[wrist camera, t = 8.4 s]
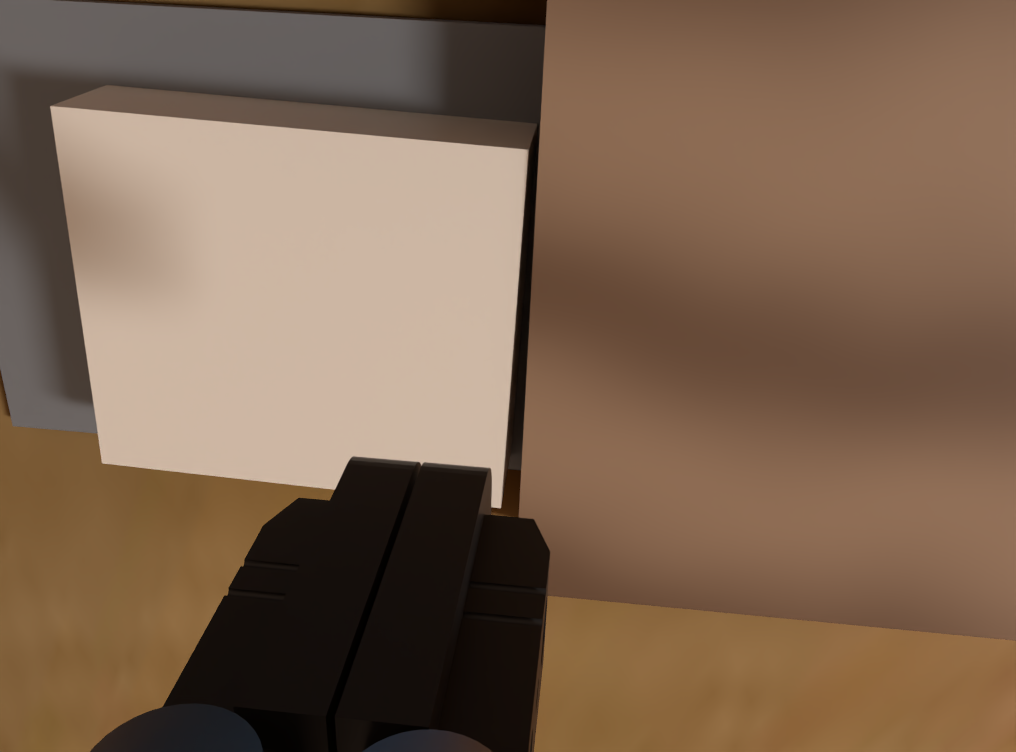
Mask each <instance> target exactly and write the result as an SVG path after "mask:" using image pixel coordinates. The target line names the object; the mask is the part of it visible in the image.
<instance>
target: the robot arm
mask: <svg viewBox="0 0 1016 752" xmlns="http://www.w3.org/2000/svg"><path fill="white" fill-rule="evenodd" d="M491 498H492V473H491V468H485V467H474V466H462V465H451V464H439V463H428V462H424V463H423V464H422V466H421V464H420V462H413V461H402V460H390V459H379V458H367V457H356V456H353V457H351V459H350V460H349V461H348V463H347V465H346V467H345V470H344V472H343V474H342V476H341V478H340V480H339V482H338V484H337V487H336V489H335V491H334V493H333V495H332V497H331V499H330V501H328V500H317V499H306V498H298V499H297V500H295V501H294V502H293V503H291V504H290V505H289V506H288V507H286V508H285V509H284V510H282V511H281V512H280V513H279V514H277V515H276V516H275V517H273V518H272V519H271V520H270V521H268V522H267V523H266V524H265V525H263V527H262V529H261V531H260V533H259V534H258V536H257V538H256V540H255V542H254V543H253V545H252V547H251V549H250V551H249V552H248V554H247V556H246V558H245V562H244V566H243V567H242V566H241V567H240V569H239V570H238V572H237V574H236V576H235V578H234V579H233V581H232V583H231V585H230V587H229V592H228V596H224V597H223V599H222V601H221V603H220V605H219V606H218V608H217V610H216V612H215V614H214V615H213V617H212V619H211V621H210V623H209V624H208V626H207V628H206V630H205V632H204V634H203V635H202V637H201V639H200V641H199V643H198V644H197V646H196V648H195V650H194V652H193V653H192V655H191V657H190V659H189V661H188V662H187V664H186V666H185V668H184V670H183V671H182V673H181V675H180V677H179V679H178V680H177V682H176V684H175V686H174V688H173V689H172V691H171V693H170V695H169V697H168V698H167V700H166V702H165V704H164V706H163V707H162V708H159V709H155V710H152V711H149V712H146V713H144V714H142V715H139V716H137V717H134V718H133V719H131V720H129V721H127V722H125V723H124V724H122V725H120V726H119V727H117V728H116V729H114V730H113V731H112V732H110V733H109V734H108V735H106V736H105V737H104V738H103V739H102V740H101V741H100V742H99V743H98V744H97V745H95V746H94V748H93V749H92V750H91V751H90V752H534V744H535V733H536V725H537V715H538V705H539V696H540V687H541V677H542V668H543V656H544V641H545V626H546V611H547V596H548V580H549V565H550V550H549V548H548V546H547V544H546V542H545V540H544V538H543V536H542V534H541V532H540V530H539V528H538V526H537V524H536V522H535V520H534V519H529V518H518V517H507V516H496V515H491Z"/></svg>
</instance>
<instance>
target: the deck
mask: <svg viewBox="0 0 1016 752" xmlns="http://www.w3.org/2000/svg"><path fill="white" fill-rule="evenodd" d="M519 518H529V519H534V520H535V522H536V524H537V526H538V528H539V530H540V532H541V534H542V536H543V538H544V540H545V542H546V544H547V546H548V548H549V550H550V565H549V580H548V596H558V597H568V598H578V599H589V600H599V601H610V602H620V603H630V604H641V605H651V606H662V607H672V608H682V609H693V610H703V611H714V612H724V613H734V614H745V615H755V616H766V617H776V618H786V619H797V620H807V621H818V622H828V623H838V624H849V625H859V626H870V627H880V628H890V629H901V630H911V631H921V632H932V633H942V634H953V635H963V636H973V637H984V638H994V639H1005V640H1015V641H1016V0H547V12H546V30H545V48H544V67H543V85H542V103H541V121H540V139H539V157H538V176H537V194H536V212H535V230H534V248H533V266H532V285H531V303H530V321H529V339H528V357H527V375H526V394H525V412H524V430H523V448H522V466H521V484H520V503H519Z"/></svg>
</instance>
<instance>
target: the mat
mask: <svg viewBox="0 0 1016 752" xmlns="http://www.w3.org/2000/svg"><path fill="white" fill-rule="evenodd" d="M545 30H546V25H531V24H513V23H495V22H477V21H458V20H440V19H422V18H404V17H386V16H367V15H349V14H331V13H313V12H294V11H276V10H258V9H240V8H222V7H203V6H185V5H167V4H149V3H130V2H112V1H94V0H0V370H1V374H2V379H3V383H4V388H5V392H6V397H7V401H8V406H9V411H10V415H11V420H12V424H13V426H19V427H31V428H42V429H54V430H65V431H77V432H88V433H98V431H97V424H96V417H95V410H94V404H93V397H92V390H91V383H90V376H89V369H88V362H87V356H86V349H85V342H84V335H83V328H82V321H81V314H80V308H79V301H78V294H77V287H76V280H75V273H74V266H73V260H72V253H71V246H70V239H69V232H68V225H67V218H66V212H65V205H64V198H63V191H62V184H61V177H60V171H59V164H58V157H57V150H56V143H55V136H54V129H53V123H52V116H51V109H50V106H52V105H54V104H57V103H60V102H62V101H65V100H68V99H70V98H73V97H76V96H78V95H81V94H84V93H86V92H89V91H92V90H95V89H97V88H100V87H103V86H105V85H113V86H124V87H135V88H146V89H157V90H168V91H179V92H190V93H202V94H213V95H224V96H235V97H246V98H257V99H268V100H280V101H291V102H302V103H313V104H324V105H335V106H346V107H357V108H369V109H380V110H391V111H402V112H413V113H424V114H435V115H447V116H458V117H469V118H480V119H491V120H502V121H513V122H525V123H536V124H537V134H536V146H535V159H534V171H533V184H532V196H531V208H530V221H529V233H528V246H527V258H526V270H525V283H524V295H523V308H522V320H521V332H520V345H519V357H518V370H517V382H516V394H515V407H514V419H513V432H512V444H511V456H510V461H509V466H508V469H512V470H521V466H522V448H523V430H524V412H525V394H526V375H527V357H528V339H529V321H530V303H531V285H532V266H533V248H534V230H535V212H536V194H537V176H538V157H539V139H540V121H541V103H542V85H543V67H544V48H545Z"/></svg>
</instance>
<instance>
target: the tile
mask: <svg viewBox="0 0 1016 752" xmlns="http://www.w3.org/2000/svg"><path fill="white" fill-rule="evenodd" d="M50 109H51V116H52V123H53V129H54V136H55V143H56V150H57V157H58V164H59V171H60V177H61V184H62V191H63V198H64V205H65V212H66V218H67V225H68V232H69V239H70V246H71V253H72V260H73V266H74V273H75V280H76V287H77V294H78V301H79V308H80V314H81V321H82V328H83V335H84V342H85V349H86V356H87V362H88V369H89V376H90V383H91V390H92V397H93V404H94V410H95V417H96V424H97V431H98V438H99V445H100V452H101V458H102V463H104V464H113V465H122V466H131V467H140V468H148V469H157V470H166V471H175V472H184V473H193V474H201V475H210V476H219V477H228V478H237V479H246V480H255V481H263V482H272V483H281V484H290V485H299V486H308V487H316V488H325V489H334V490H335V489H336V487H337V484H338V482H339V480H340V478H341V476H342V474H343V472H344V470H345V467H346V465H347V463H348V461H349V460H350V459H351V457H353V456H356V457H367V458H379V459H390V460H402V461H413V462H420V464H421V466H422V464H423V463H424V462H428V463H439V464H451V465H462V466H474V467H485V468H491V473H492V498H491V507H493V508H501V505H502V499H503V494H504V488H505V483H506V477H507V472H508V466H509V461H510V456H511V444H512V432H513V419H514V407H515V394H516V382H517V370H518V357H519V345H520V332H521V320H522V308H523V295H524V283H525V270H526V258H527V246H528V233H529V221H530V208H531V196H532V184H533V171H534V159H535V146H536V134H537V124H536V123H525V122H513V121H502V120H491V119H480V118H469V117H458V116H447V115H435V114H424V113H413V112H402V111H391V110H380V109H369V108H357V107H346V106H335V105H324V104H313V103H302V102H291V101H280V100H268V99H257V98H246V97H235V96H224V95H213V94H202V93H190V92H179V91H168V90H157V89H146V88H135V87H124V86H113V85H105V86H103V87H100V88H97V89H95V90H92V91H89V92H86V93H84V94H81V95H78V96H76V97H73V98H70V99H68V100H65V101H62V102H60V103H57V104H54V105H52V106H50Z"/></svg>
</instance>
